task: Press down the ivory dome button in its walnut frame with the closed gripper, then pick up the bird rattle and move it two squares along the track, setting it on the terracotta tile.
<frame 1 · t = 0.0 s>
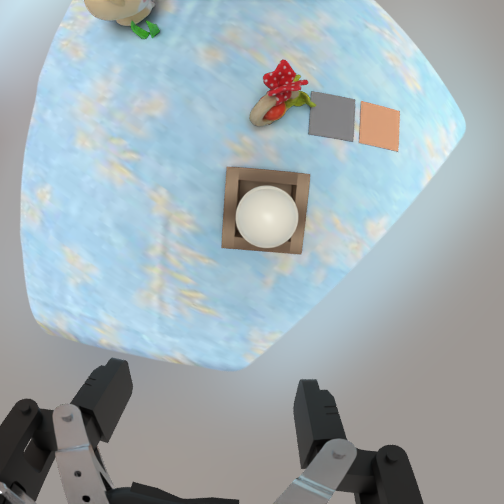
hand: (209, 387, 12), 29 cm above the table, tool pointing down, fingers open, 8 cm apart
dome button: (266, 215, 30), point 9 cm above the table, slide at 0.0 cm
bird rattle: (279, 109, 35), on the table
button frame: (264, 206, 38), on the table
kitten: (138, 15, 30), on the table
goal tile: (379, 126, 35), on the table
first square: (332, 116, 35), on the table
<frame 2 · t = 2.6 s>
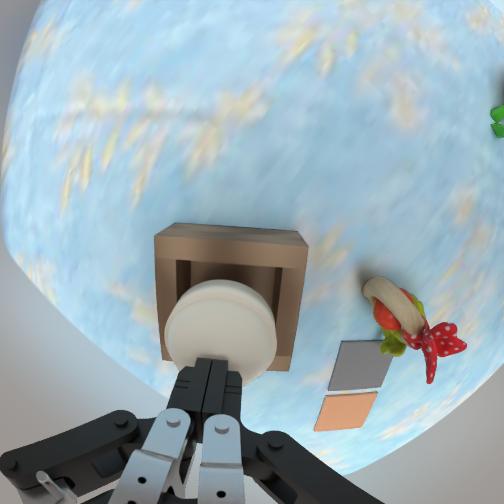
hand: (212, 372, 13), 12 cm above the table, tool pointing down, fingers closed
dome button: (221, 334, 16), point 8 cm above the table, slide at 1.2 cm, touching gripper
bird rattle: (380, 301, 24), on the table
button frame: (232, 284, 24), on the table
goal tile: (345, 412, 28), on the table
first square: (362, 365, 26), on the table
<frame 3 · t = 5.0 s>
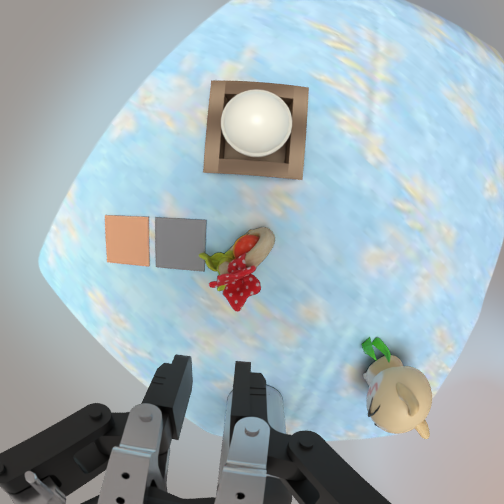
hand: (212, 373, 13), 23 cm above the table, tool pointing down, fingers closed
dome button: (256, 123, 24), point 7 cm above the table, slide at 2.4 cm
bird rattle: (239, 247, 35), on the table
button frame: (256, 134, 31), on the table
kitten: (379, 364, 40), on the table
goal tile: (127, 240, 34), on the table
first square: (180, 244, 35), on the table
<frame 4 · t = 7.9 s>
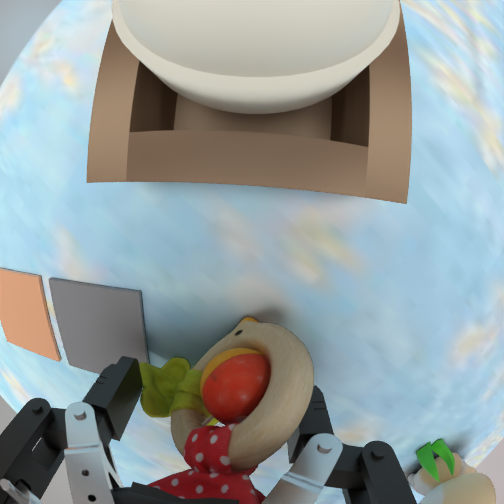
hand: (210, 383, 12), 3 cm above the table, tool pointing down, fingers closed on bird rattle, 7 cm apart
bird rattle: (222, 349, 15), on the table, touching gripper
button frame: (255, 79, 11), on the table
kitten: (430, 461, 20), on the table
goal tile: (21, 312, 15), on the table
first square: (99, 333, 15), on the table
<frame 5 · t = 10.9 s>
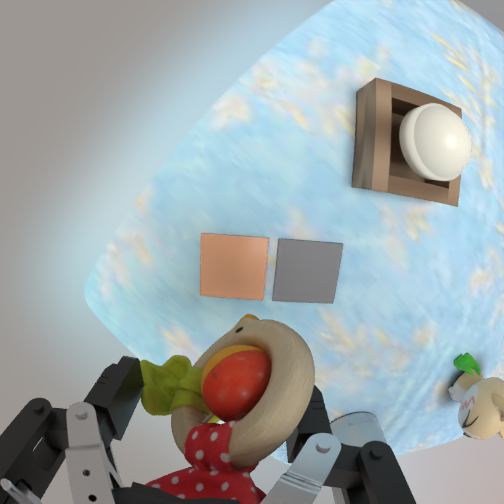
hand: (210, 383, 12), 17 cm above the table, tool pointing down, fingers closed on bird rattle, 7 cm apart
dome button: (434, 142, 18), point 7 cm above the table, slide at 2.4 cm
bird rattle: (223, 347, 15), point 14 cm above the table, touching gripper
button frame: (398, 147, 24), on the table
kitten: (461, 378, 33), on the table
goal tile: (233, 267, 28), on the table
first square: (307, 272, 28), on the table
when the fingers open (5 cm above the table, at t = 13.6 s): bird rattle drops 1 cm, resting on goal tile.
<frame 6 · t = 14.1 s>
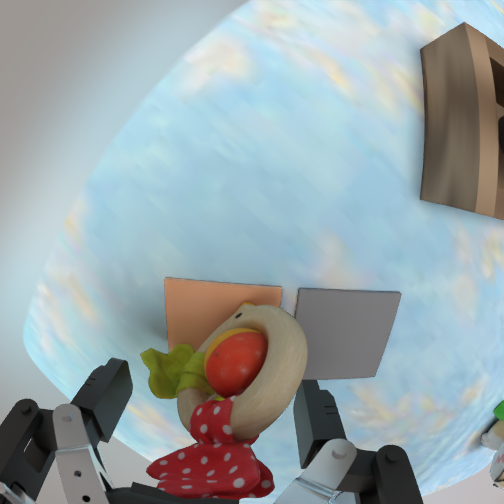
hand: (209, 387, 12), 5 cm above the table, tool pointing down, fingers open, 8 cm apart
bird rattle: (224, 334, 16), resting on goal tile
button frame: (478, 139, 13), on the table
kitten: (496, 422, 22), on the table
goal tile: (220, 332, 16), on the table
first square: (342, 337, 16), on the table
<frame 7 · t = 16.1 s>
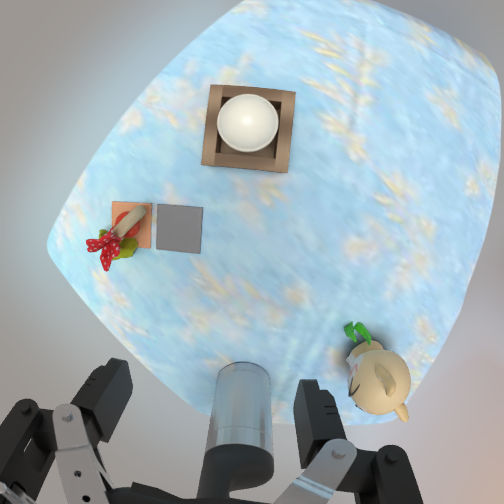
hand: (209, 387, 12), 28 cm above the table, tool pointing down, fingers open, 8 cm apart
dome button: (248, 123, 28), point 7 cm above the table, slide at 2.4 cm
bird rattle: (132, 224, 38), resting on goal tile
button frame: (249, 132, 35), on the table
kitten: (362, 350, 44), on the table
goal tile: (131, 224, 38), on the table
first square: (178, 228, 38), on the table
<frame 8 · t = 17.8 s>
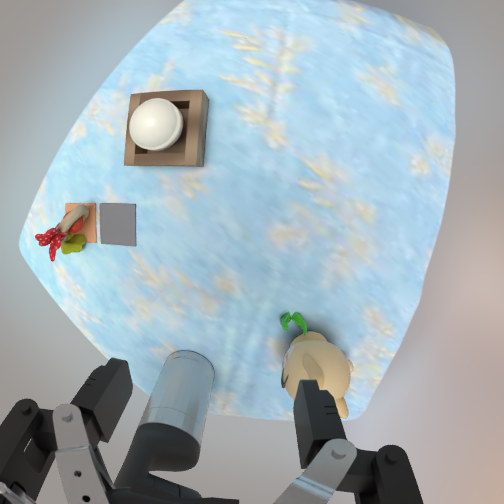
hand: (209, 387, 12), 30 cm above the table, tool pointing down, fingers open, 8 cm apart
dome button: (156, 124, 30), point 7 cm above the table, slide at 2.4 cm
bird rattle: (81, 223, 40), resting on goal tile
button frame: (172, 132, 36), on the table
kitten: (305, 341, 45), on the table
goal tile: (80, 222, 40), on the table
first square: (117, 224, 40), on the table
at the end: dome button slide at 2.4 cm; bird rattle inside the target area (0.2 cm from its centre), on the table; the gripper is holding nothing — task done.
